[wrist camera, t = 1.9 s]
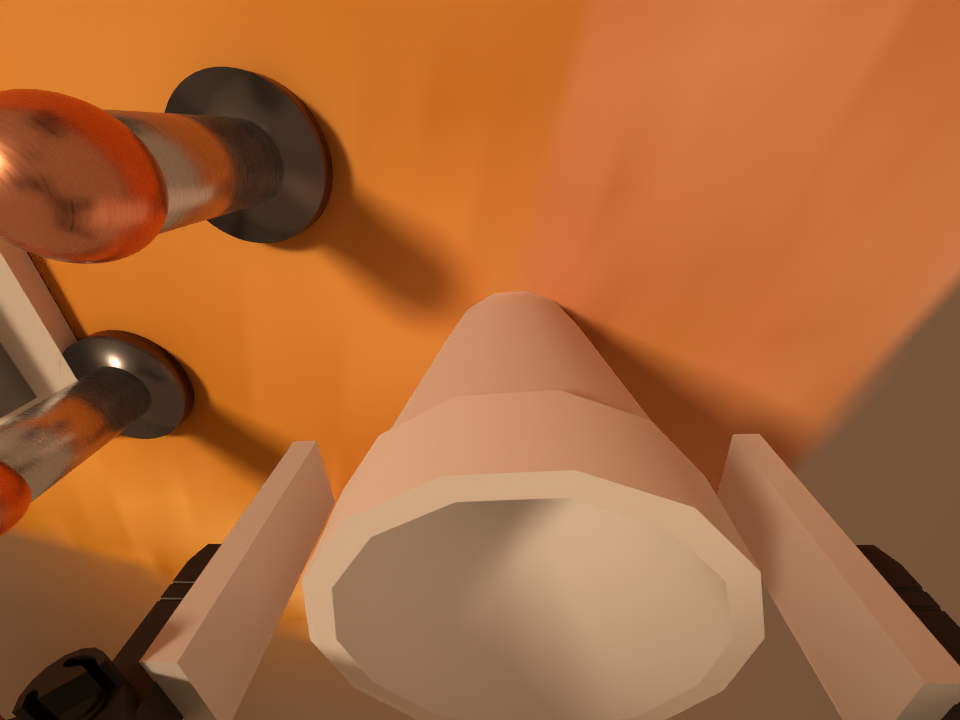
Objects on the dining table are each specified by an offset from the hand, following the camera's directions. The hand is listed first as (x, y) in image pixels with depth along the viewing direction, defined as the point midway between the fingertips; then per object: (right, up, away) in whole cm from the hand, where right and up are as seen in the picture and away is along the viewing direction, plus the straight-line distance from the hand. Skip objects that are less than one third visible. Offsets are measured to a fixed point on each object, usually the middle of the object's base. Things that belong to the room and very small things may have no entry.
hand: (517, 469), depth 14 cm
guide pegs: (-15, +7, +6) cm, 17 cm away
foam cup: (0, +4, +7) cm, 8 cm away
